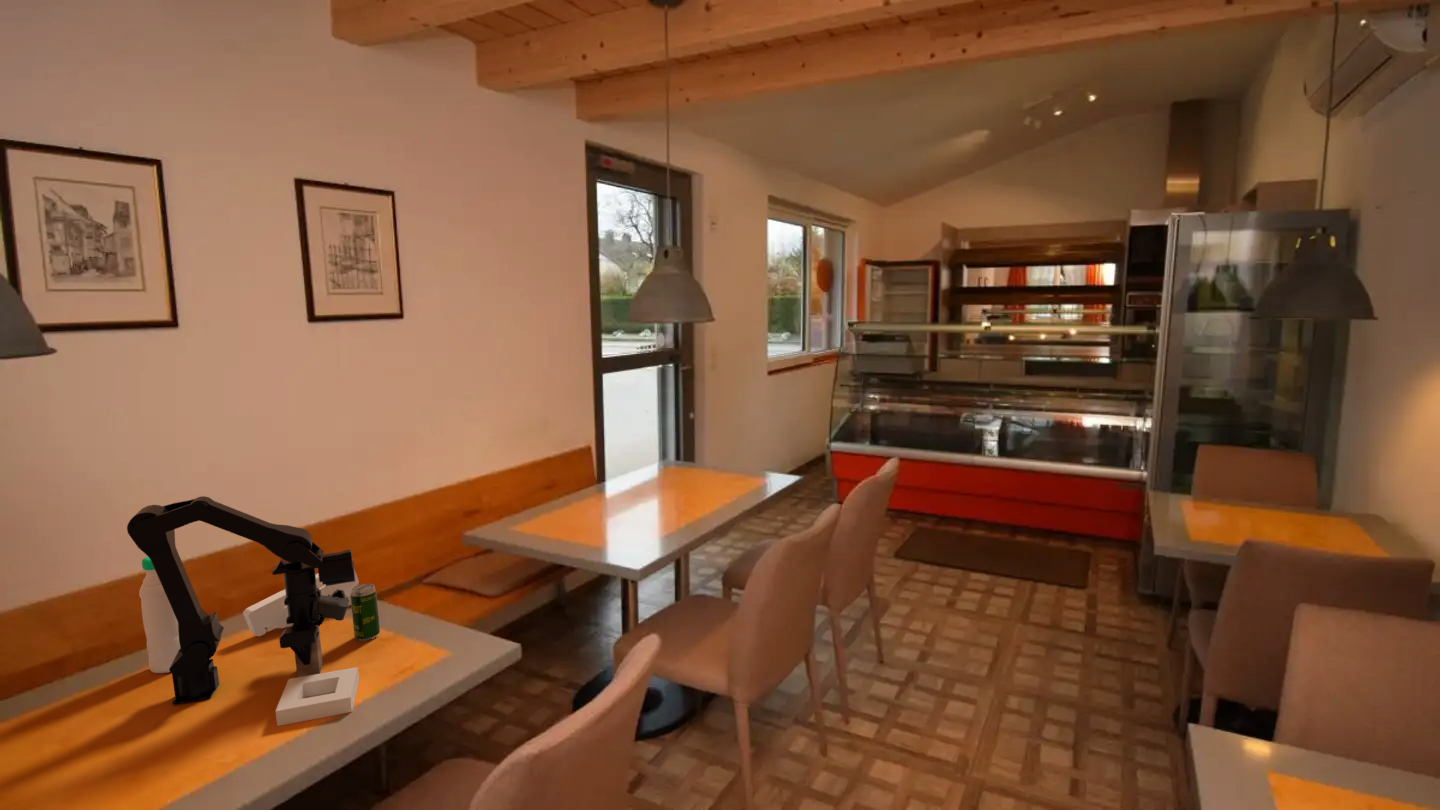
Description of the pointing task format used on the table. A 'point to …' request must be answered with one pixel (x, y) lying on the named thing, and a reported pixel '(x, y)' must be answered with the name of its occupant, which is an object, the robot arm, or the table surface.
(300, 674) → the walnut post
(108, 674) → the table surface
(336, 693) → the well block
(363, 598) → the beer can
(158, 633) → the water bottle
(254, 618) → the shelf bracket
